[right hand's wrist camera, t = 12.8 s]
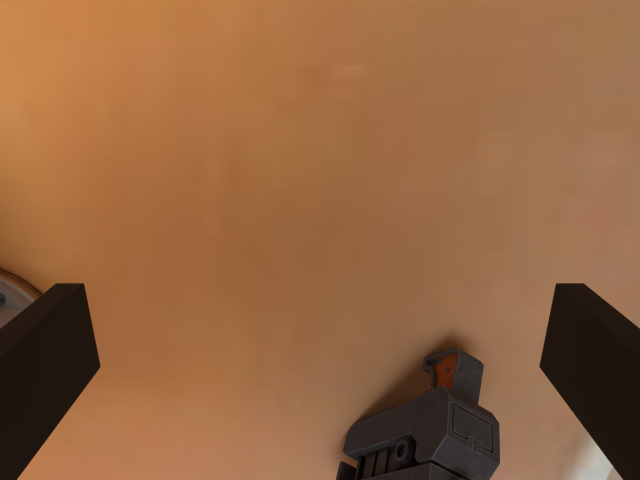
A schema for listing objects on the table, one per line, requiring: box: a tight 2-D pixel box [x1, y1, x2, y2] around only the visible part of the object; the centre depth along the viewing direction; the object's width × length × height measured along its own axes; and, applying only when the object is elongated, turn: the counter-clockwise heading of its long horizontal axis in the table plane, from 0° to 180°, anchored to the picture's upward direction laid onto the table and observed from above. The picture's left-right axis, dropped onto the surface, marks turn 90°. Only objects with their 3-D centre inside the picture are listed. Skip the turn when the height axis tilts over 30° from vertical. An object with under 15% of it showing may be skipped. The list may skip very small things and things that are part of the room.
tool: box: [336, 348, 500, 480], centre depth 44 cm, size 6×19×15 cm, turn 147°
